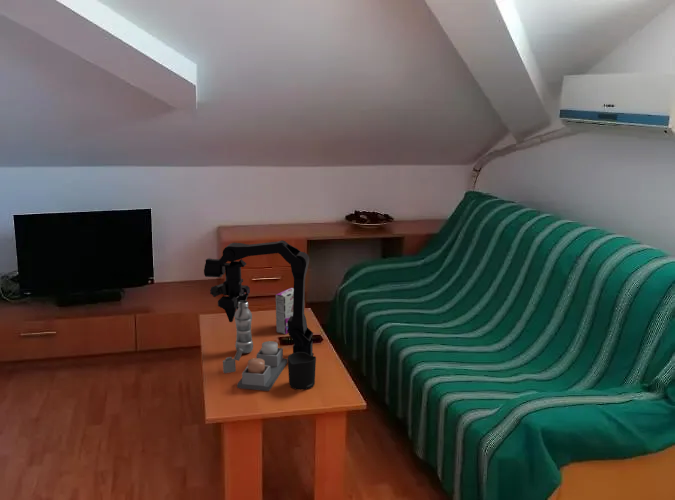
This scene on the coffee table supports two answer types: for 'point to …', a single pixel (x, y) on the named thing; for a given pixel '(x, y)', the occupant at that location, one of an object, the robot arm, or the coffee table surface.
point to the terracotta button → (256, 366)
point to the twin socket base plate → (270, 375)
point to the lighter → (231, 362)
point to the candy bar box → (284, 310)
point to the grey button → (270, 348)
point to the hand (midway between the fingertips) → (235, 317)
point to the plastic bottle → (243, 327)
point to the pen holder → (301, 370)
